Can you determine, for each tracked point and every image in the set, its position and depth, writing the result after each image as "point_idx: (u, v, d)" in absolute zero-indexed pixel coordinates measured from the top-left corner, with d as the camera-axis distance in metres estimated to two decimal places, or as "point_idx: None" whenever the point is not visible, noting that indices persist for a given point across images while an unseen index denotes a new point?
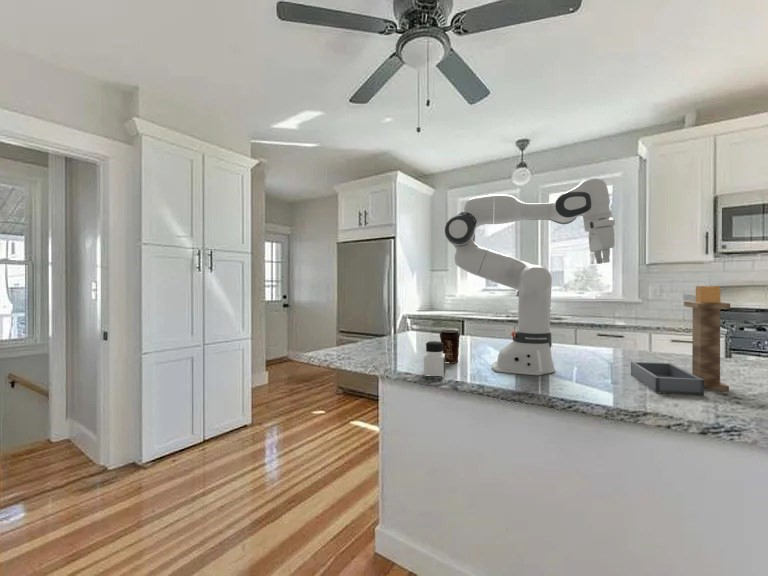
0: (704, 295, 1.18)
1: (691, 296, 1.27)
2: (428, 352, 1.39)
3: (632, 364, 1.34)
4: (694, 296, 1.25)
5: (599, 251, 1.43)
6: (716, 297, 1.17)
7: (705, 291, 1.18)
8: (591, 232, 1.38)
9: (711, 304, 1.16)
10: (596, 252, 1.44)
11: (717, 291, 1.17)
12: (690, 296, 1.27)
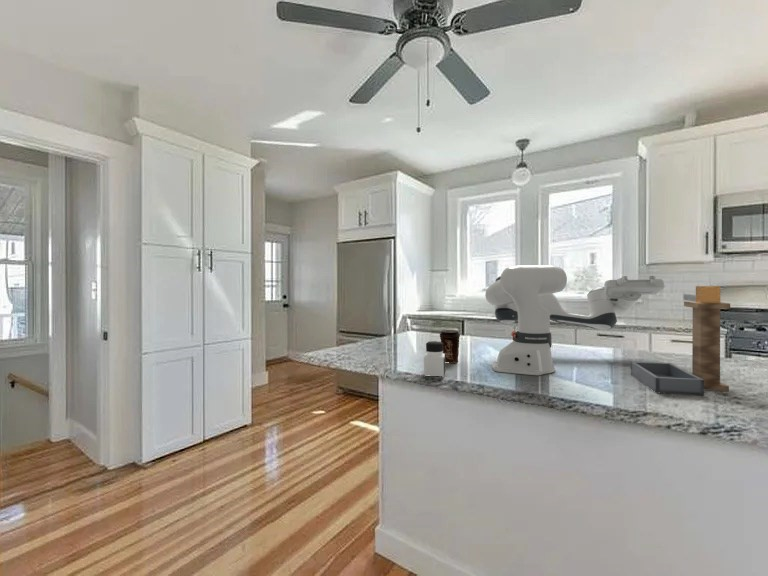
0: (704, 295, 1.18)
1: (691, 296, 1.27)
2: (428, 352, 1.39)
3: (632, 364, 1.34)
4: (694, 296, 1.25)
5: (650, 281, 1.52)
6: (716, 297, 1.17)
7: (705, 291, 1.18)
8: (627, 296, 1.59)
9: (711, 304, 1.16)
10: (650, 283, 1.52)
11: (717, 291, 1.17)
12: (690, 296, 1.27)
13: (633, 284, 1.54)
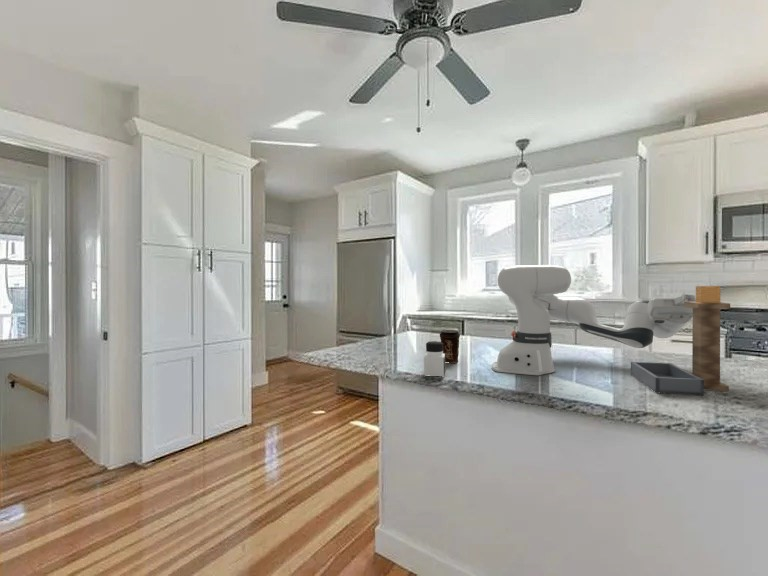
0: (704, 295, 1.18)
1: (691, 296, 1.27)
2: (428, 352, 1.39)
3: (632, 364, 1.34)
4: (694, 296, 1.25)
5: None
6: (716, 297, 1.17)
7: (705, 291, 1.18)
8: (675, 317, 1.37)
9: (711, 304, 1.16)
10: None
11: (717, 291, 1.17)
12: (690, 296, 1.27)
13: None
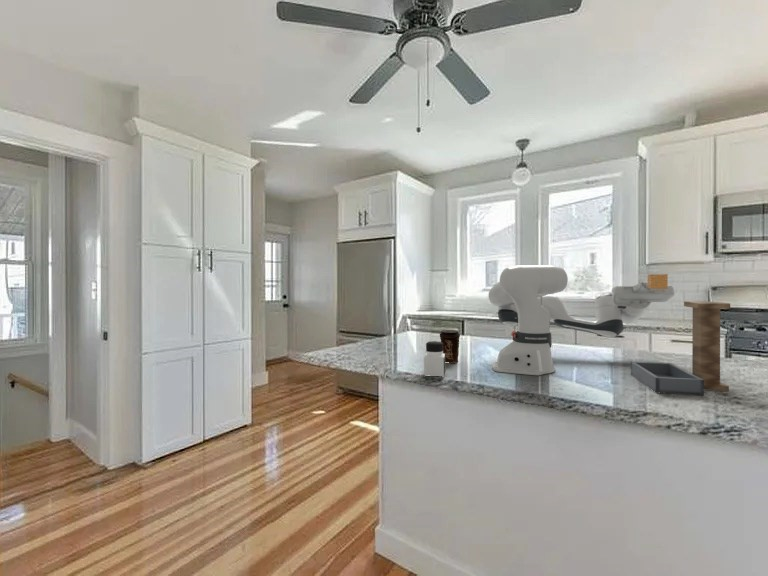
0: (653, 282, 1.35)
1: (646, 283, 1.44)
2: (428, 352, 1.39)
3: (632, 364, 1.34)
4: (648, 283, 1.42)
5: None
6: (664, 284, 1.34)
7: (654, 278, 1.35)
8: (635, 303, 1.54)
9: (711, 304, 1.16)
10: (650, 290, 1.48)
11: (664, 279, 1.34)
12: (645, 283, 1.44)
13: (641, 291, 1.50)
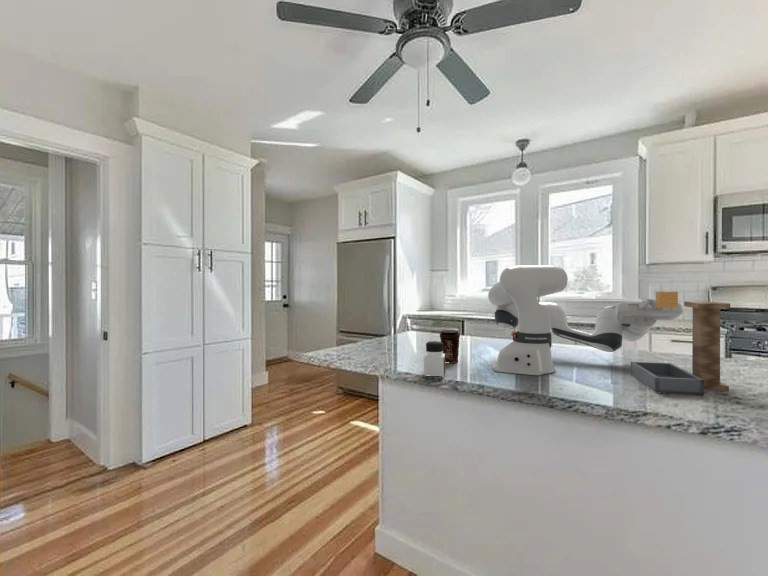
0: (663, 300, 1.24)
1: (653, 301, 1.33)
2: (428, 352, 1.39)
3: (632, 364, 1.34)
4: (655, 301, 1.31)
5: None
6: (674, 302, 1.23)
7: (664, 296, 1.24)
8: (640, 321, 1.43)
9: (711, 304, 1.16)
10: (657, 308, 1.37)
11: (674, 297, 1.23)
12: (652, 301, 1.34)
13: (647, 308, 1.39)
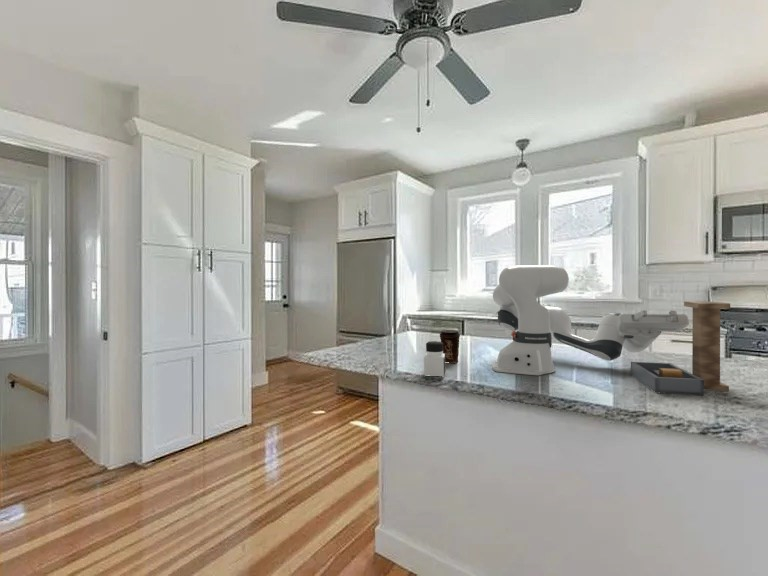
0: None
1: (657, 374, 1.27)
2: (428, 352, 1.39)
3: (632, 364, 1.34)
4: (659, 375, 1.25)
5: (672, 317, 1.30)
6: None
7: (667, 375, 1.18)
8: (644, 333, 1.36)
9: (711, 304, 1.16)
10: (670, 319, 1.29)
11: (678, 376, 1.17)
12: (656, 374, 1.28)
13: (652, 320, 1.32)
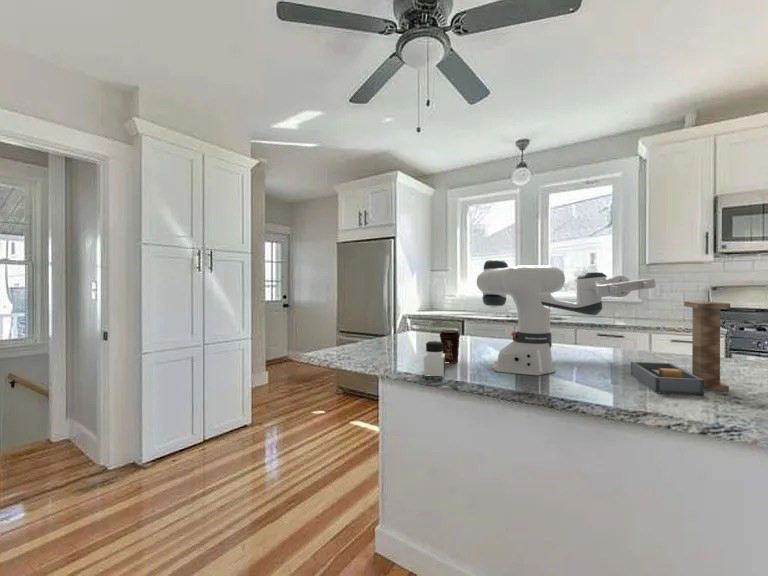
0: None
1: (657, 374, 1.27)
2: (428, 352, 1.39)
3: (632, 364, 1.34)
4: (659, 375, 1.25)
5: (642, 283, 1.49)
6: None
7: (667, 375, 1.18)
8: (617, 293, 1.57)
9: (711, 304, 1.16)
10: (642, 286, 1.49)
11: (678, 376, 1.17)
12: (656, 374, 1.28)
13: (625, 287, 1.51)
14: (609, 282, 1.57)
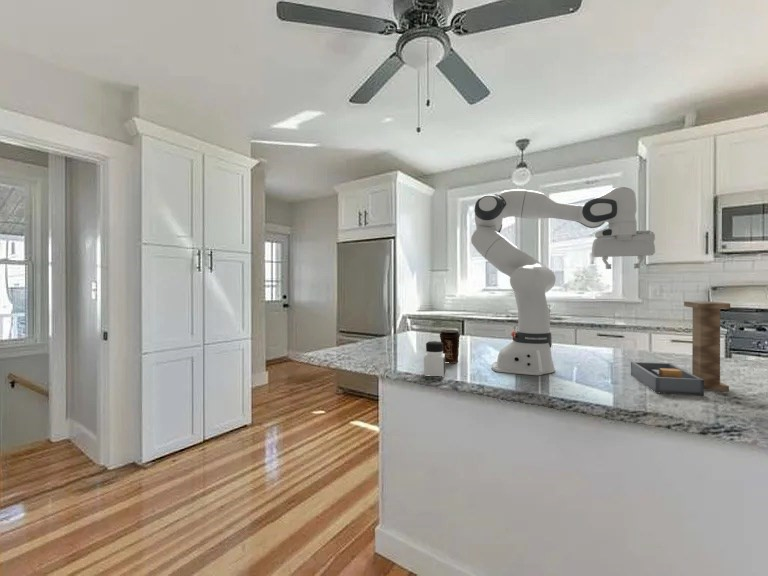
0: None
1: (657, 374, 1.27)
2: (428, 352, 1.39)
3: (632, 364, 1.34)
4: (659, 375, 1.25)
5: (638, 256, 1.44)
6: None
7: (667, 375, 1.18)
8: None
9: (711, 304, 1.16)
10: (637, 256, 1.45)
11: (678, 376, 1.17)
12: (656, 374, 1.28)
13: None
14: (611, 240, 1.44)
